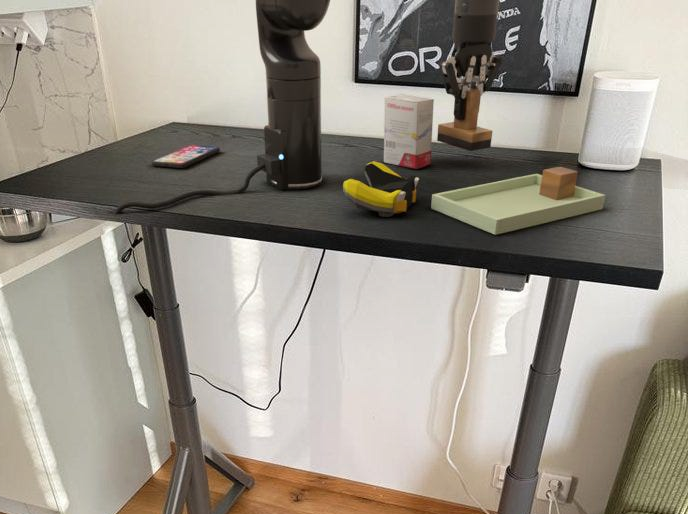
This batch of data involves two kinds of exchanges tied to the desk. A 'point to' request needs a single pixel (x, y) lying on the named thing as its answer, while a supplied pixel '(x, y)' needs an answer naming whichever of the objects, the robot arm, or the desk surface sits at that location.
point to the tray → (512, 204)
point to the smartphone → (185, 156)
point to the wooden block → (558, 183)
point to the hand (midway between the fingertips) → (465, 118)
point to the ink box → (408, 130)
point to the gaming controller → (382, 190)
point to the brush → (466, 127)
